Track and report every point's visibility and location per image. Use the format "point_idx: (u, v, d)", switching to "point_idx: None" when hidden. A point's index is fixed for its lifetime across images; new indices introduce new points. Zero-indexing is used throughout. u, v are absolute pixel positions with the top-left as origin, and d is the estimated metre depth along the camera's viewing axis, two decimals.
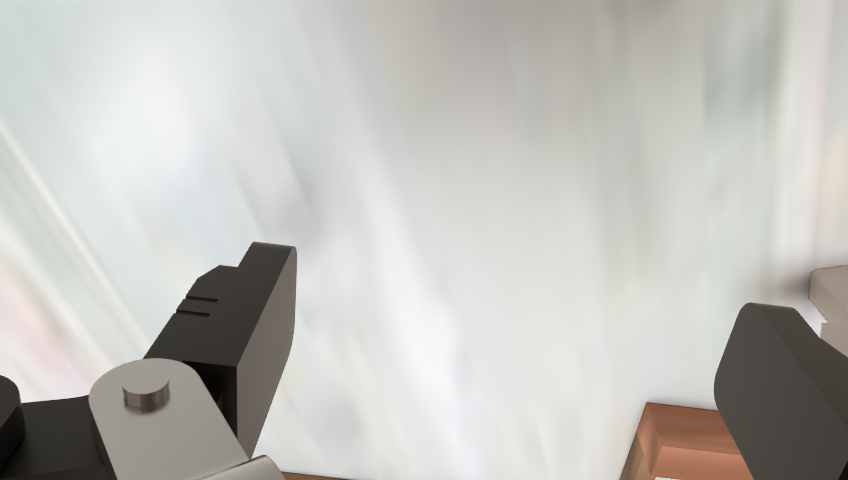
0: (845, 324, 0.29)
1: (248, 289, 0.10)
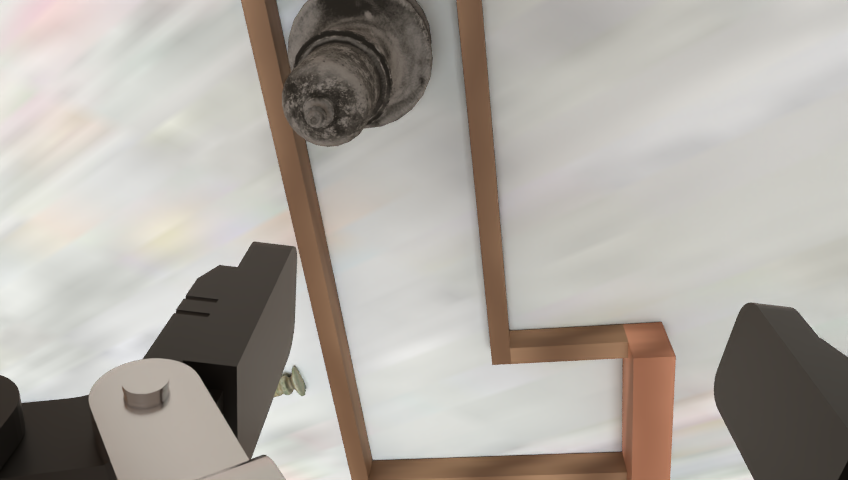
0: None
1: (248, 289, 0.10)
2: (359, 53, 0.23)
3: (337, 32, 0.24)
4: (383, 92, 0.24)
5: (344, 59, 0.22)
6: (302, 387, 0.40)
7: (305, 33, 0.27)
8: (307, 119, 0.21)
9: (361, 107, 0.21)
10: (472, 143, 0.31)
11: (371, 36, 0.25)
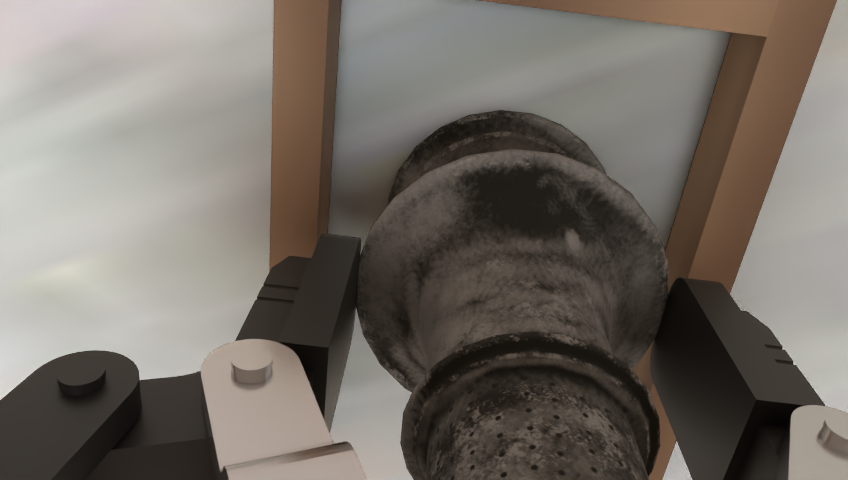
0: None
1: (325, 277, 0.11)
2: (623, 427, 0.09)
3: (565, 346, 0.09)
4: None
5: None
6: None
7: (413, 235, 0.12)
8: None
9: None
10: None
11: (591, 312, 0.11)
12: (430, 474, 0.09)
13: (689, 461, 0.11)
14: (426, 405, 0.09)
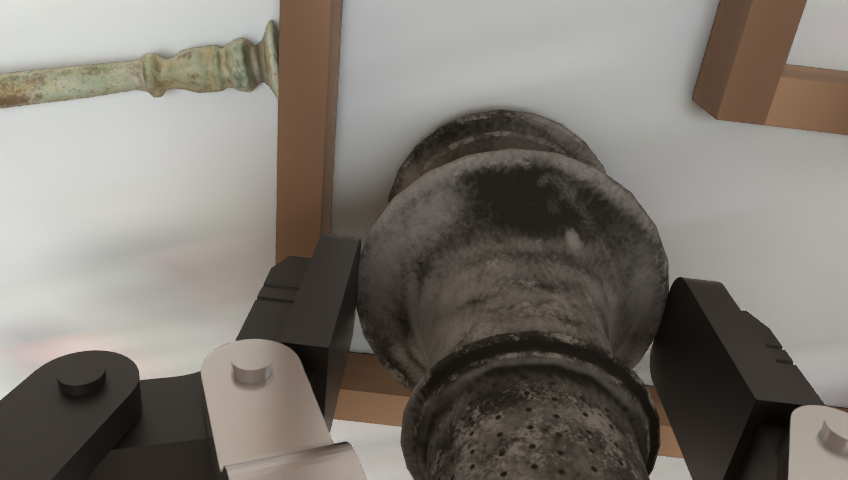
0: None
1: (325, 277, 0.11)
2: (623, 426, 0.09)
3: (566, 345, 0.09)
4: None
5: None
6: None
7: (413, 234, 0.12)
8: None
9: None
10: None
11: (591, 311, 0.11)
12: (430, 473, 0.09)
13: (689, 461, 0.11)
14: (425, 403, 0.09)
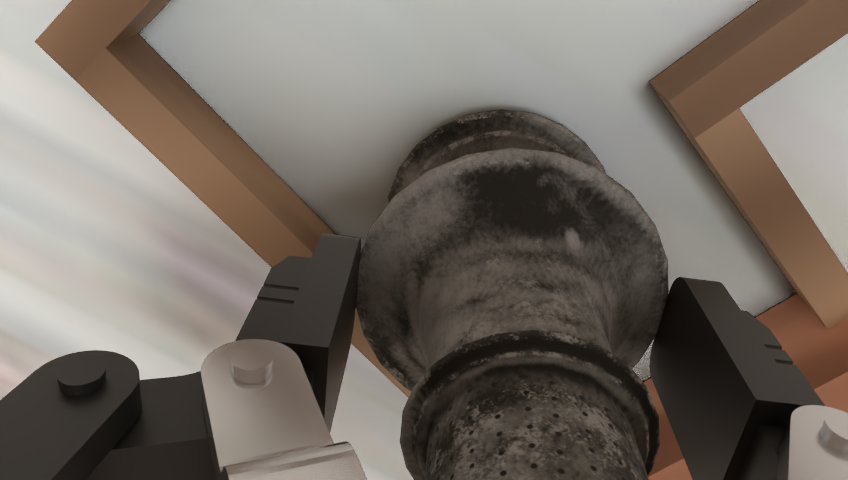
0: None
1: (325, 277, 0.11)
2: (623, 426, 0.09)
3: (565, 345, 0.09)
4: None
5: None
6: None
7: (413, 234, 0.12)
8: None
9: None
10: None
11: (591, 311, 0.11)
12: (429, 472, 0.09)
13: (689, 461, 0.11)
14: (425, 402, 0.09)
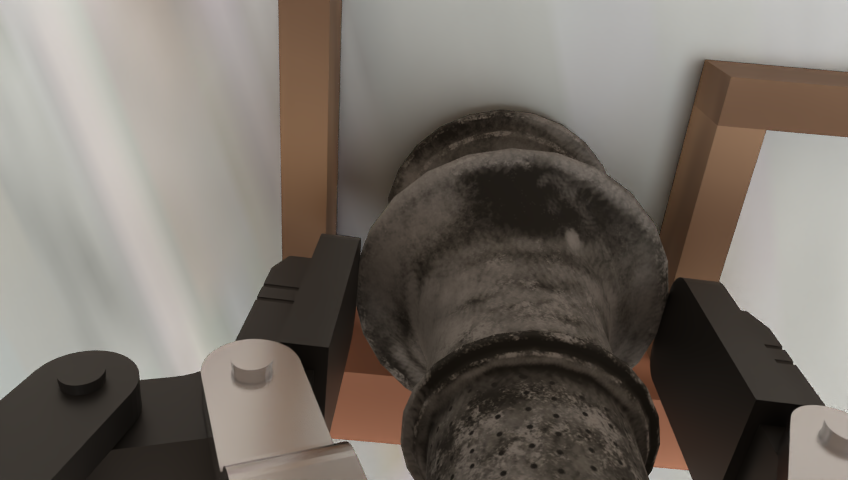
0: None
1: (325, 277, 0.11)
2: (623, 426, 0.09)
3: (565, 345, 0.09)
4: None
5: None
6: None
7: (413, 234, 0.12)
8: None
9: None
10: None
11: (592, 311, 0.11)
12: (430, 473, 0.09)
13: (689, 461, 0.11)
14: (425, 403, 0.09)
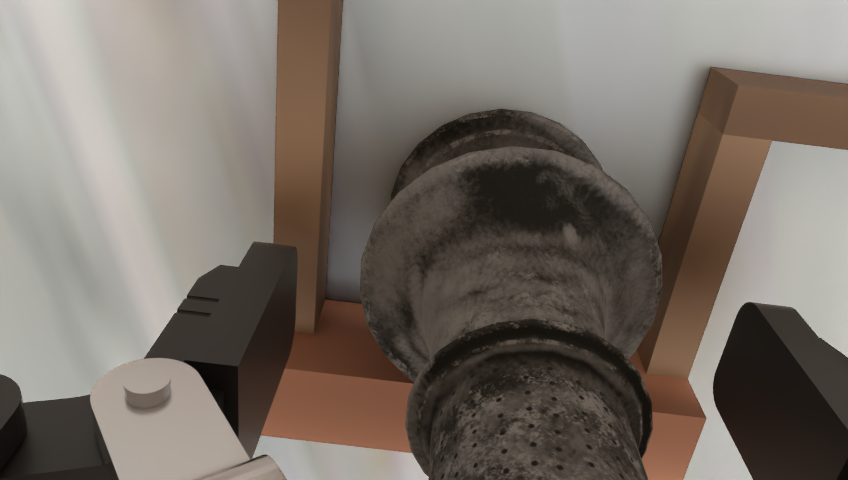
0: None
1: (249, 289, 0.10)
2: (617, 410, 0.09)
3: (563, 333, 0.09)
4: None
5: None
6: None
7: (417, 229, 0.13)
8: None
9: None
10: None
11: (588, 303, 0.11)
12: (434, 453, 0.09)
13: None
14: (429, 388, 0.10)
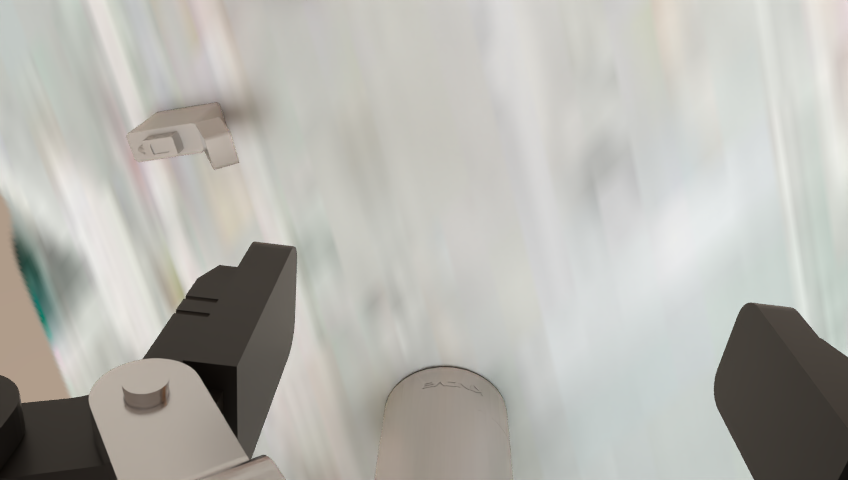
0: None
1: (248, 289, 0.10)
2: None
3: None
4: None
5: None
6: None
7: None
8: None
9: None
10: None
11: None
12: None
13: None
14: None
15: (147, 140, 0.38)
